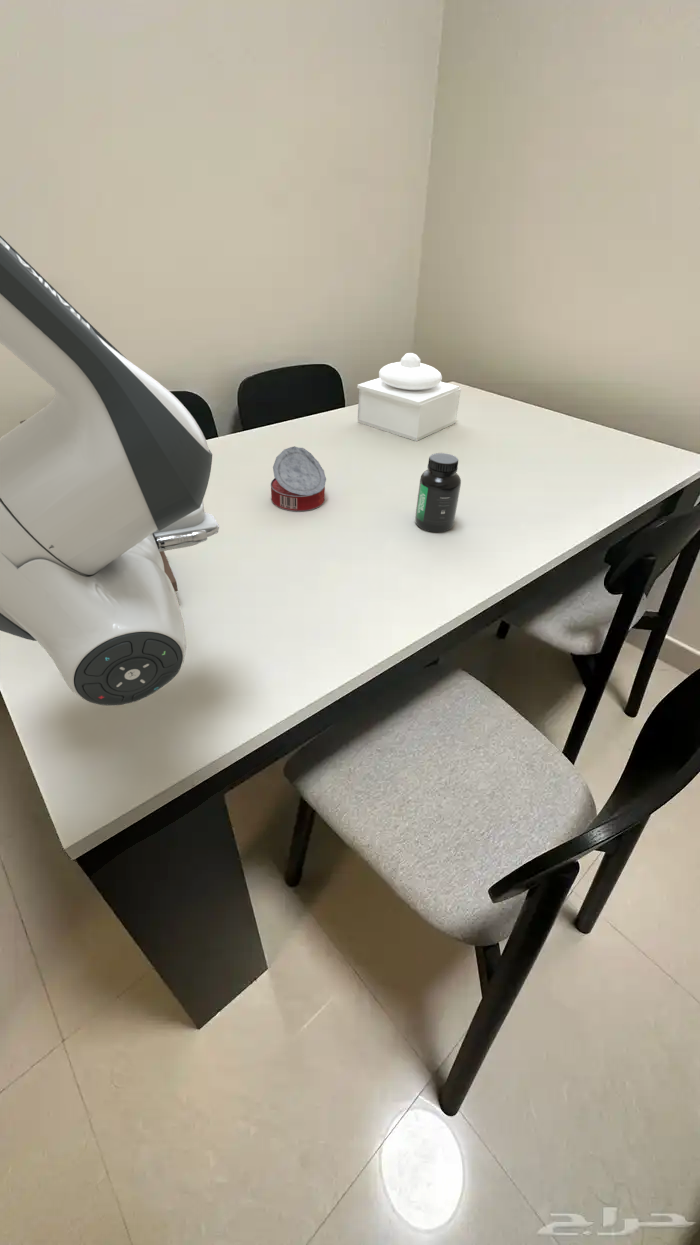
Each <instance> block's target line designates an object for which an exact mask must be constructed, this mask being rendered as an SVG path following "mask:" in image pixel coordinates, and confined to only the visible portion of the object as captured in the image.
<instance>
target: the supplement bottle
mask: <svg viewBox="0 0 700 1245" xmlns="http://www.w3.org/2000/svg"><path fill="white" fill-rule="evenodd" d="M458 470H459V458H458V457H457V456H455V455H453V454H450V453H445V452H436V453H432V454H430V455H429V458H428V463H427V469H426V470H425V471H423V472H422V473H421V475H420V479H419V485H418V493H417V501H416V509H415V516H414V522H415V524H416V526H418V528H420V529H421V530H423V531H426V532H431V533H445V532H448V531H449V530H451V529H452V528H453V527H454V524H455V520H456V514H457V507H458V503H459V498H460V493H461V492H460V490H461V485H462V479H461V476H460V475H459V474H458V473H457V472H458Z"/></svg>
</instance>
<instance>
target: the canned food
mask: <svg viewBox="0 0 700 1245" xmlns="http://www.w3.org/2000/svg"><path fill="white" fill-rule="evenodd" d="M272 471H273V477H274V478H273V479H272V480H271V482H270V496H271V498H270V500H271V503H272V504H273V505H274V506H275V507H277V508H279V509H281V510H284V511H289V512H308V511H312V510H316V509H318V508H320V507H321V506H323V505H324V503H325V497H326V496H325V495H326V490H325V489H326V482H327V477H326V473H325V470H324V469H323V467H322V465H321V464H320V462H319V460H317V458H315V457H314V455H313V454H312V453H311V452H310V451H309V450H307V449H306V448H304V447H298V446H291V447H287V448H285V449H283V450H282V451H281V452H280V453H279V454H278V455H277V456H276V457H275V460H274V462H273V465H272Z"/></svg>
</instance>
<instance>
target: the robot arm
mask: <svg viewBox="0 0 700 1245" xmlns="http://www.w3.org/2000/svg"><path fill="white" fill-rule="evenodd" d="M0 344H1V345H2V346H3V347H4V348H6V349H7V350H8V351H9V352H10V353H12V354H13V355H14V356H15V357H17V358H18V359H19V360H20V361H21V362H23V364H25V365H26V366H27V367H29V369H31V370H32V371H33V372H34V373H36V375H38V376H39V377H40V378H41V379H42V380H43V381H45V382H46V383H47V384H48V385H50V386H51V387H52V388H53V389H54V396H53V398H52V399H51V401H50V402H49V403H47V405H45V406H44V407H43V408H41V409H40V410H38V411H37V412H35V413H34V414H32V415H31V416H29V417H28V418H26V419H27V420H26V419H24V420H25V421H24V420H23V421H24V422H22V423H21V424H20V423H19V424H18V425H16V426H15V427H14V428H13V429H11V430H10V431H8V432H7V433H5V434H4V435H2V436H1V437H0V631H1V632H2V633H3V632H4V633H7V634H10V635H13V636H14V637H15V636H16V637H19V638H22V639H26V640H29V641H32V642H33V641H34V642H37V643H38V644H39V645H40V646H41V647H42V648H43V649H44V651H46V653H47V654H48V655H49V657H50V658H51V660H52V661H53V662H54V664H55V666H56V668H57V669H58V671H59V673H60V675H61V677H62V679H63V680H64V682H65V684H66V685H67V686H68V687H69V690H71V691H72V692H73V693H74V694H75V695H76V696H77V697H79V698H80V699H82V700H84V701H85V702H88V703H90V704H93V705H97V706H106V707H107V706H108V707H111V706H124V705H127V704H132V703H135V702H138V701H140V700H143V699H145V698H148V697H149V696H151V695H152V694H154V693H156V692H157V691H159V690H160V689H162V688H163V687H164V686H165V685H167V684H168V683H169V682H171V681H172V680H173V679H175V677H176V676H177V675H178V674H179V672H180V670H181V668H182V667H183V664H184V661H185V658H186V652H187V637H186V628H185V623H184V619H183V614H182V609H181V607H180V606H181V605H180V603H179V600H178V597H177V593H176V591H174V588H173V586H172V583H171V581H170V579H169V577H168V576H167V575H166V573H165V572H164V564H163V560H162V557H161V554H160V552H161V551H164V552H165V551H171V550H177V549H178V550H179V549H184V548H188V547H194V546H197V545H199V544H201V543H203V542H206V541H208V538H209V537H212V536H214V535H216V534H218V533H219V529H220V525H219V523H218V521H217V519H216V517H215V516H214V515H213V514H212V513H209V512H206V511H205V506H204V505H205V504H204V499H205V495H206V492H207V489H208V485H209V481H210V477H211V472H212V464H213V453H212V452H211V449H210V448H209V445H208V441H207V439H206V437H205V435H204V433H203V431H202V429H201V427H200V426H199V424H198V422H197V420H196V419H195V418H194V416H193V415H192V414H191V412H190V411H189V410H188V409H187V408H186V406H184V404H183V403H182V402H181V400H179V399H178V398H177V397H176V396H175V395H174V394H173V393H172V392H171V391H170V390H169V389H168V388H166V387H165V386H163V384H161V382H159V381H158V380H156V379H155V378H154V377H152V376H151V375H150V374H148V373H147V372H145V371H144V370H143V369H141V368H140V367H139V366H137V365H136V364H135V363H133V362H132V361H130V360H129V359H128V358H127V357H126V356H124V354H123V353H122V352H120V350H118V349H117V348H116V347H115V346H114V345H113V344H112V343H111V342H110V341H109V340H108V339H107V338H105V336H103V335H102V334H101V333H100V332H99V331H98V329H96V328H95V327H94V326H93V325H92V323H90V322H89V321H88V320H87V319H86V318H85V317H84V316H83V315H82V314H81V313H80V312H79V311H78V310H77V309H76V308H75V307H74V306H73V305H72V304H71V303H70V302H68V300H67V299H66V298H64V297H63V295H61V293H59V292H58V291H57V289H56V288H54V287H53V286H52V284H51V283H49V282H48V281H47V280H46V279H45V277H44V276H42V275H41V274H40V272H38V271H37V270H36V269H35V267H33V266H32V265H31V264H30V263H29V262H28V261H27V260H26V259H25V258H24V257H23V256H22V255H21V254H20V253H19V252H18V251H17V250H16V249H15V248H14V247H13V246H12V245H11V244H9V242H8V241H6V239H5V238H4V237H3V236H1V235H0Z"/></svg>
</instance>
